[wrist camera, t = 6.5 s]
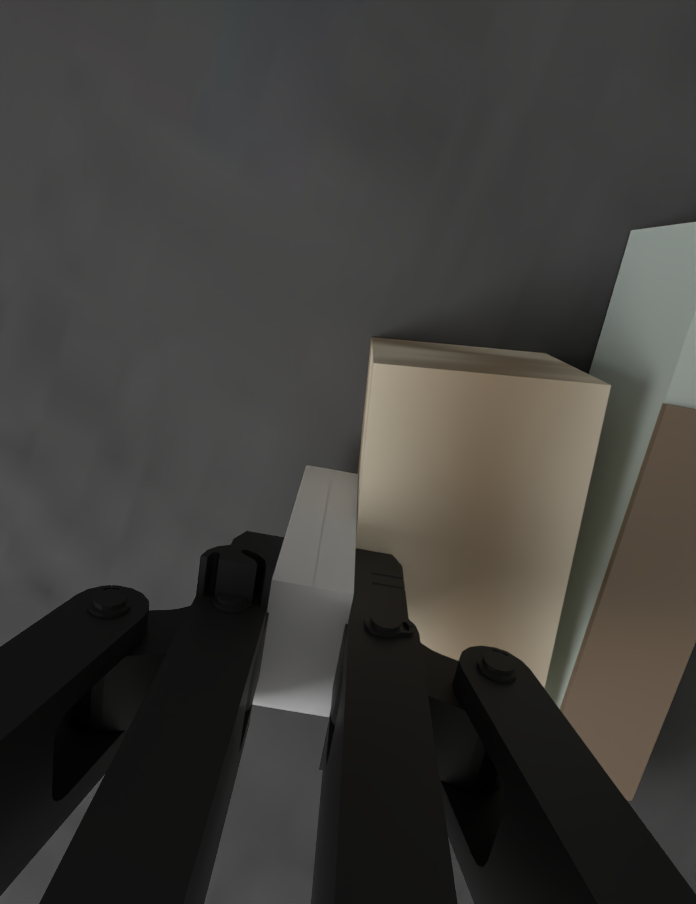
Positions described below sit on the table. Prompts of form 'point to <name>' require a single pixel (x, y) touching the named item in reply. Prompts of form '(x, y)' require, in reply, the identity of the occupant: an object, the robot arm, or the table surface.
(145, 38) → the table surface
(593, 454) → the block
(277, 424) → the table surface
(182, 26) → the table surface
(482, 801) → the robot arm
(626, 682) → the batten
